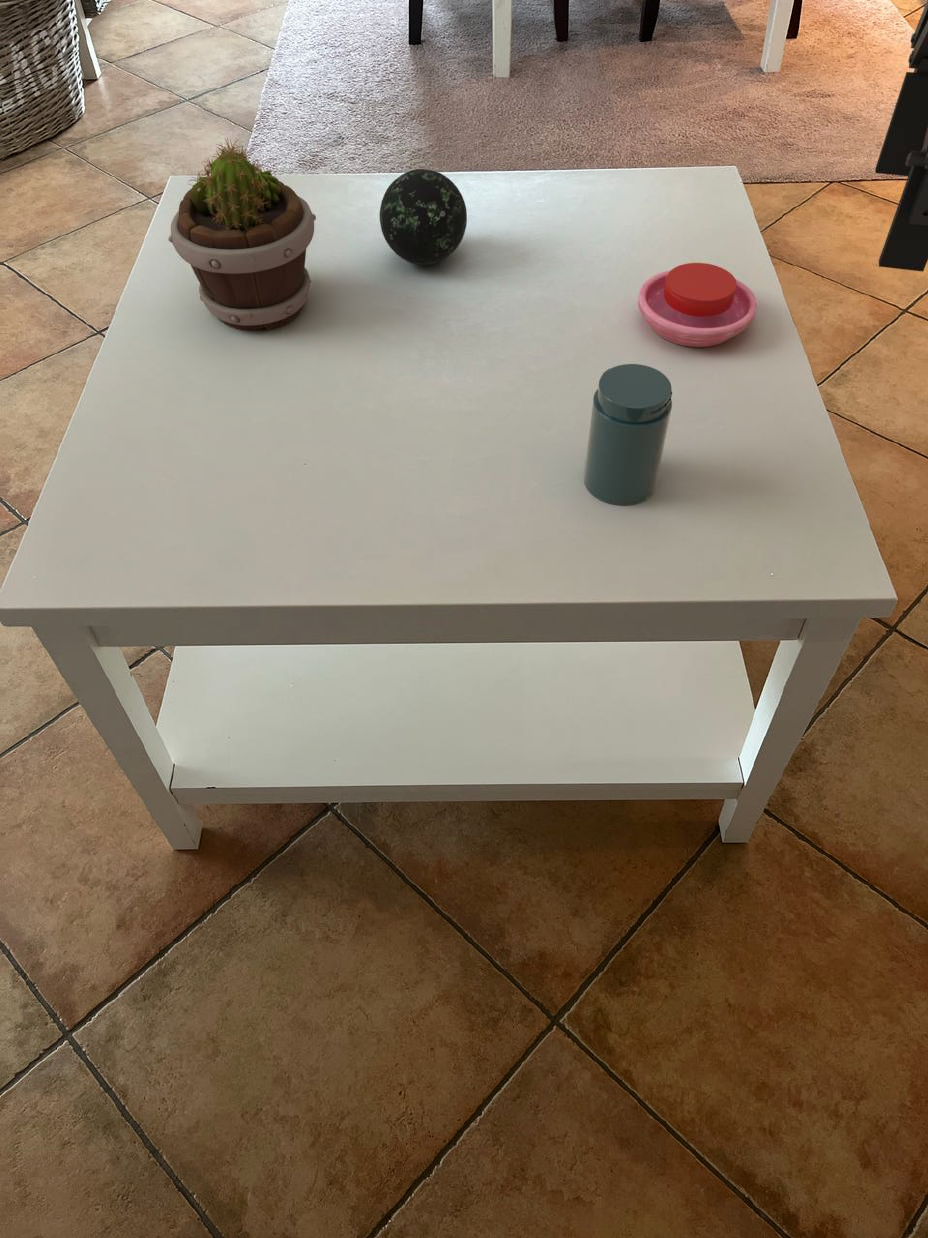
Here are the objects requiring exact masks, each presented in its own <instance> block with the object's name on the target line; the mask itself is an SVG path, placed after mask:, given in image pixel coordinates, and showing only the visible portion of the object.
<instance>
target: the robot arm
mask: <svg viewBox="0 0 928 1238" xmlns="http://www.w3.org/2000/svg"><path fill="white" fill-rule="evenodd" d="M910 43H911V44H910V49H913V50H911V53H910V54H909V57H908V61H907V62H908V69H913V72H912V71H906V72H905V74H904V78H903V81H902V84H901V87H900V90H899V94H898V97H897V100H896V103H895V106H894V109H893V112H892V115H891V118H890V122H889V124H888V128H887V132H886V133H885V134H886V135H885V138H884V140H883V143H882V147H881V149H880V153H879V156H878V159H877V162H876V164H875V165H876V166H875V168H874V171H875V174H881V175H889V176H890V175H891V176H900V177H907V179H906V181H905V185H904V188H903V190H902V193H901V196H900V198H899V201H898V204H897V207H896V210H895V213H894V216H893V218H892V222H891V224H890V227H889V230H888V233H887V235H886V238H885V241H884V244H883V247H882V250H881V252H880V255H879V259H878V267H879V268H887V269H897V270H904V271H906V270H907V271H914V272H924V271H925V268H926V266H927V263H928V0H926V2H925V5H924V7H923V10H922V13H921V15H920V17H919V20H918V23H917V25H916V28H915V29H914V32H913V33H912V35H911V37H910Z"/></svg>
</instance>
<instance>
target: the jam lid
mask: <svg viewBox="0 0 928 1238" xmlns="http://www.w3.org/2000/svg"><path fill="white" fill-rule="evenodd" d="M669 271H670V270H669ZM736 279H737V278H735V276H734V275H733V274H732V273H731V272H730V271H728V270H727V269H725V268H724V267H721V266H718V265H715V264H711V263H706V262H690V263H688V262H687V263H683V264H680V265H676V266H675V267H673V268H672V269H671V271H670V272H669V273H668V274H667V277H666V283H665V289H664V299H665V301H666V303H667V304H668V305H669V306H670V307H671V308H673V309H674V310H676V311H678V312H680V313H683V314H687V315H691V316H698V317H708V316H714V315H718V314H721V313H723V312H725V311H727V310H728V309H729V308H730V307H731V305H732V303H733V299H734V295H735V291H736V287H737V282H736Z"/></svg>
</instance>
